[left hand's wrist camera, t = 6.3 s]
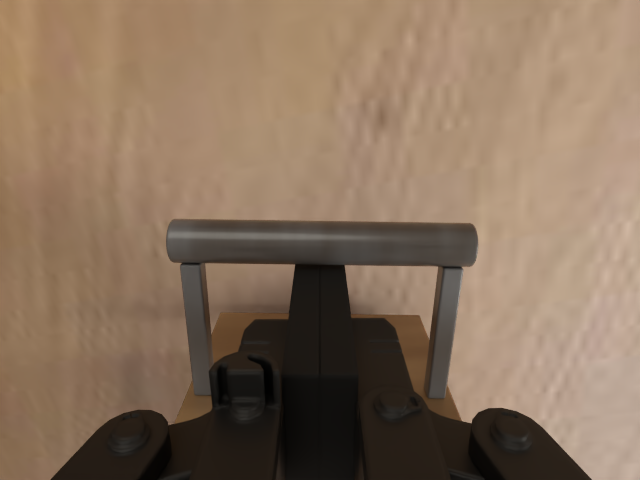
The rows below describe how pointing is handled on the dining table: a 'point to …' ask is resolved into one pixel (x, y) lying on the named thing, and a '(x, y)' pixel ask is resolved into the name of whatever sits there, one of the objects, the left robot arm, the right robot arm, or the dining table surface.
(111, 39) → the dining table surface
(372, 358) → the left robot arm
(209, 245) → the drawer
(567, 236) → the dining table surface
